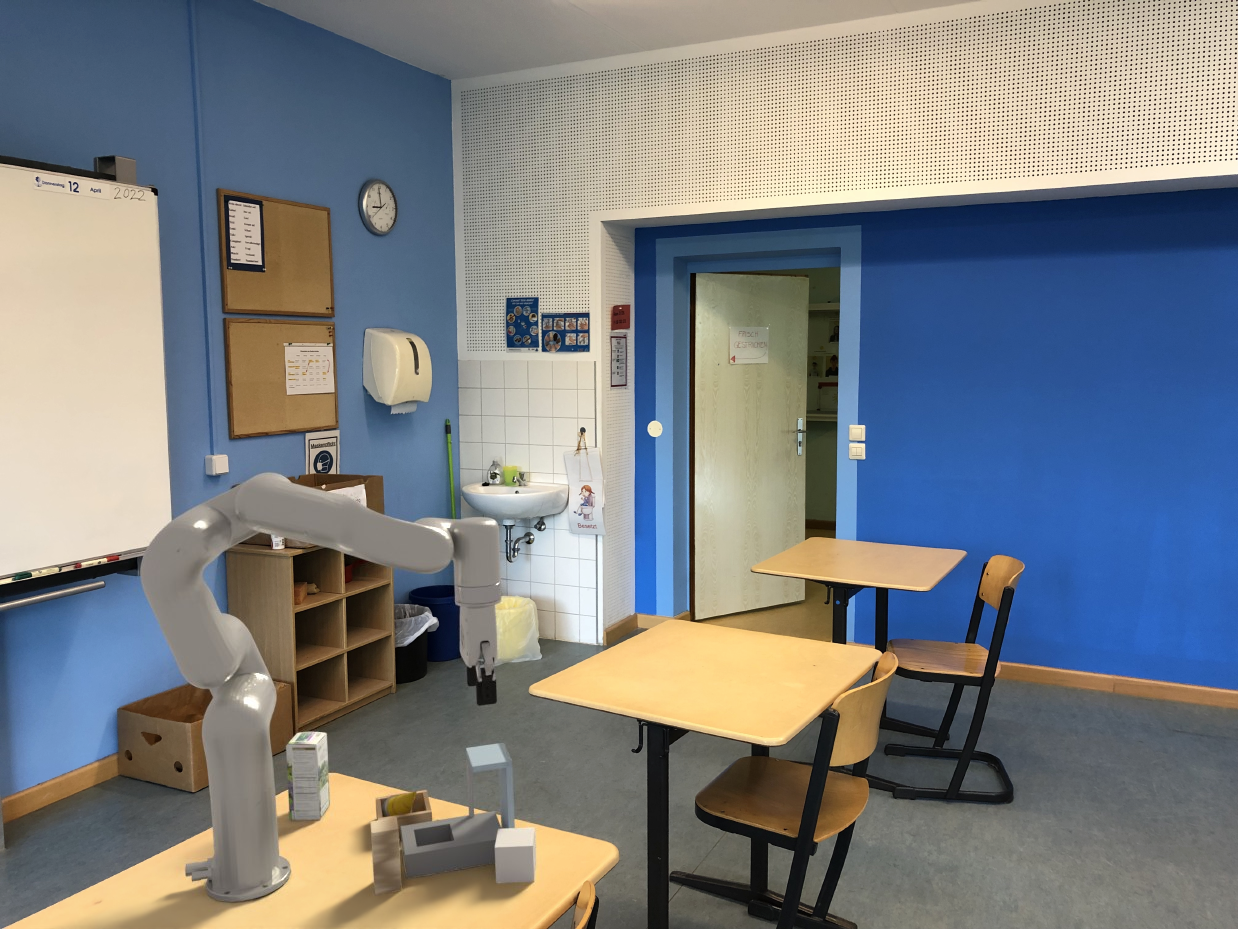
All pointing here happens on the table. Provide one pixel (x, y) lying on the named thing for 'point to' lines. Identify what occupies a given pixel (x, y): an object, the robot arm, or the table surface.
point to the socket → (449, 844)
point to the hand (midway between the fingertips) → (481, 694)
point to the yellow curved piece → (398, 804)
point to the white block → (515, 855)
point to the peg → (386, 856)
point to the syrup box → (308, 776)
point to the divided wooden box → (418, 815)
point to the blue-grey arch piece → (499, 759)
